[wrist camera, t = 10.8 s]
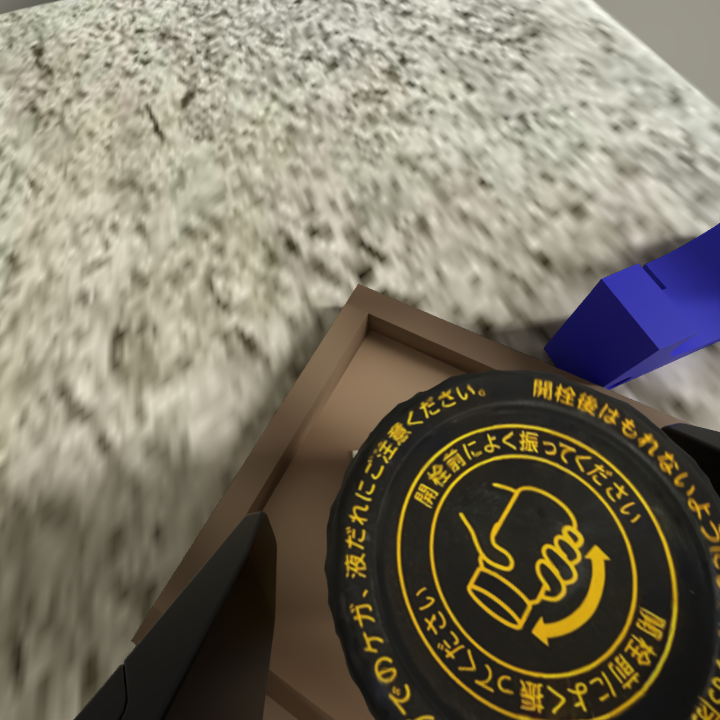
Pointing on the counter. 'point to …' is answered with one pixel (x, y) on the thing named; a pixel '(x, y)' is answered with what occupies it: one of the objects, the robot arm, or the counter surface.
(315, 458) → the dock holder
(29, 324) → the counter surface
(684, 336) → the cable clip
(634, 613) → the condiment
